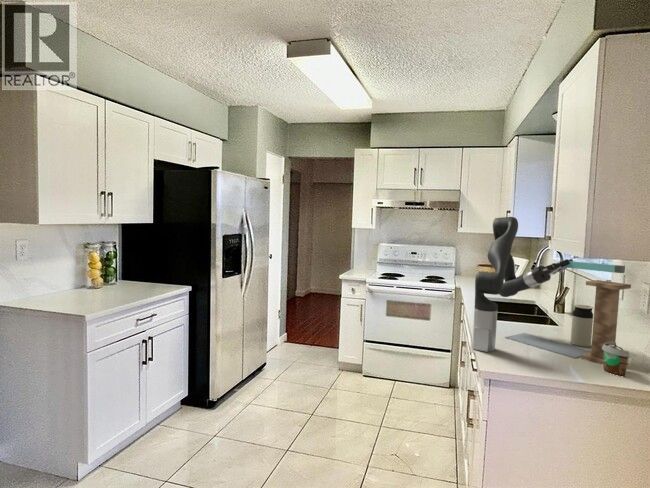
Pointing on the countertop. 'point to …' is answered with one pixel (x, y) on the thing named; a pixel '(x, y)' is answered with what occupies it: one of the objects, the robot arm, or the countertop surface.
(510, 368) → the countertop surface
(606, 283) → the walnut stand
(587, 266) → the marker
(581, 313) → the travel mug
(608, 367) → the food container
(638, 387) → the countertop surface
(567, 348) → the grey mat
